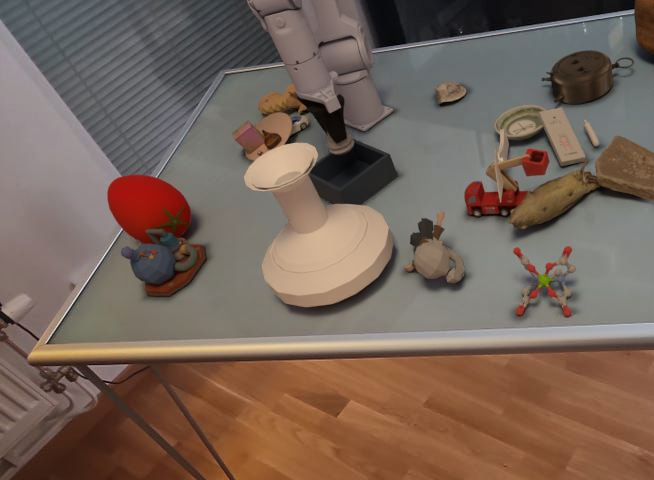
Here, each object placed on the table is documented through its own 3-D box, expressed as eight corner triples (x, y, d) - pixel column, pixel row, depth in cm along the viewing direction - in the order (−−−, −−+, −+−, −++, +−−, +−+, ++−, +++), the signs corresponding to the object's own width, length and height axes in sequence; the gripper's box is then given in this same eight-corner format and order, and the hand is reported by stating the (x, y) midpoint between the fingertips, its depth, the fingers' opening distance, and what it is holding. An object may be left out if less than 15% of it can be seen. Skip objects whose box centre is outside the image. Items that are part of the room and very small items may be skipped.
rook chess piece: (346, 157, 102) (326, 112, 96) (325, 155, 104) (305, 111, 98) (360, 141, 104) (341, 97, 98) (339, 139, 106) (320, 96, 100)
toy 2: (421, 188, 91) (440, 229, 79) (467, 213, 95) (491, 256, 83) (387, 247, 95) (400, 294, 83) (432, 269, 99) (451, 316, 87)
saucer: (529, 110, 111) (527, 97, 110) (561, 129, 106) (560, 116, 104) (485, 135, 110) (483, 122, 108) (516, 155, 104) (514, 142, 102)
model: (179, 297, 100) (143, 254, 93) (136, 295, 102) (97, 254, 95) (215, 246, 106) (184, 203, 99) (173, 246, 109) (140, 204, 102)
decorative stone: (710, 170, 90) (618, 166, 99) (706, 131, 85) (609, 131, 94) (683, 215, 86) (589, 206, 95) (677, 177, 81) (579, 172, 90)
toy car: (254, 147, 126) (248, 136, 124) (305, 120, 129) (299, 108, 127) (261, 153, 124) (254, 142, 122) (311, 125, 126) (306, 113, 124)
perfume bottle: (251, 171, 121) (235, 156, 118) (239, 138, 128) (222, 123, 124) (298, 134, 120) (283, 118, 116) (283, 102, 126) (268, 86, 122)
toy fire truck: (471, 203, 98) (456, 150, 91) (555, 202, 94) (547, 147, 86) (466, 217, 96) (450, 164, 89) (551, 216, 92) (542, 161, 84)
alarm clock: (556, 113, 109) (644, 87, 109) (554, 84, 105) (645, 57, 105) (540, 85, 116) (622, 62, 116) (537, 57, 112) (622, 32, 112)
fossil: (433, 106, 118) (464, 113, 120) (436, 86, 116) (468, 93, 117) (433, 92, 124) (462, 98, 126) (436, 73, 122) (466, 80, 123)
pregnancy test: (561, 167, 98) (561, 161, 97) (538, 116, 104) (539, 110, 103) (605, 157, 99) (606, 152, 98) (580, 108, 105) (581, 102, 104)
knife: (497, 121, 103) (503, 119, 102) (506, 147, 105) (511, 145, 105) (486, 173, 82) (494, 171, 81) (496, 203, 84) (504, 201, 84)
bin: (312, 193, 110) (302, 172, 107) (360, 158, 114) (350, 137, 111) (349, 213, 104) (339, 191, 101) (398, 176, 108) (389, 153, 104)
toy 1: (261, 118, 137) (340, 78, 140) (272, 130, 128) (356, 87, 131) (248, 94, 133) (329, 54, 137) (258, 105, 124) (345, 62, 128)
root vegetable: (520, 232, 84) (508, 247, 89) (620, 176, 92) (604, 192, 97) (499, 201, 85) (488, 218, 89) (601, 148, 92) (586, 165, 97)
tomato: (172, 186, 116) (219, 216, 111) (138, 235, 116) (183, 268, 110) (116, 148, 104) (164, 180, 99) (78, 204, 104) (125, 238, 99)
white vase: (274, 336, 89) (199, 234, 74) (280, 249, 102) (217, 148, 87) (405, 298, 88) (356, 187, 73) (395, 215, 101) (350, 107, 86)
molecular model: (523, 278, 85) (513, 237, 80) (580, 278, 83) (574, 236, 77) (513, 316, 81) (502, 276, 76) (573, 318, 79) (566, 276, 73)
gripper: (342, 57, 88) (375, 141, 98) (308, 31, 97) (341, 110, 107) (299, 79, 87) (336, 161, 97) (268, 50, 96) (305, 128, 106)
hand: (336, 136), depth 102 cm, fingers closed on rook chess piece, 3 cm apart
